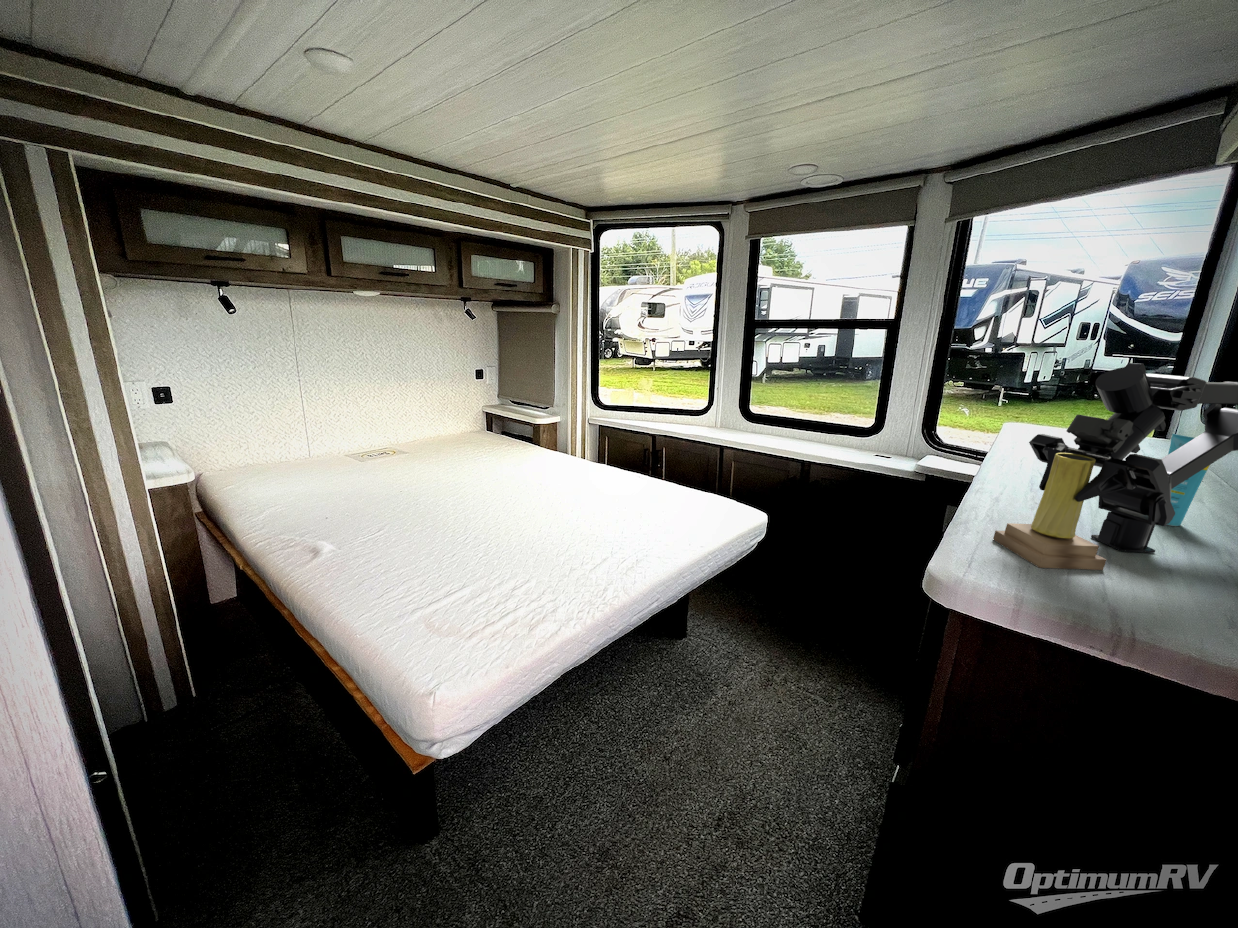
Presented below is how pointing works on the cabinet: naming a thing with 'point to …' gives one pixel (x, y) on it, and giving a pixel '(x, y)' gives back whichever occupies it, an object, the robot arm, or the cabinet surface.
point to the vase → (1063, 496)
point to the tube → (1183, 485)
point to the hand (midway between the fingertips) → (1058, 494)
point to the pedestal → (1050, 548)
